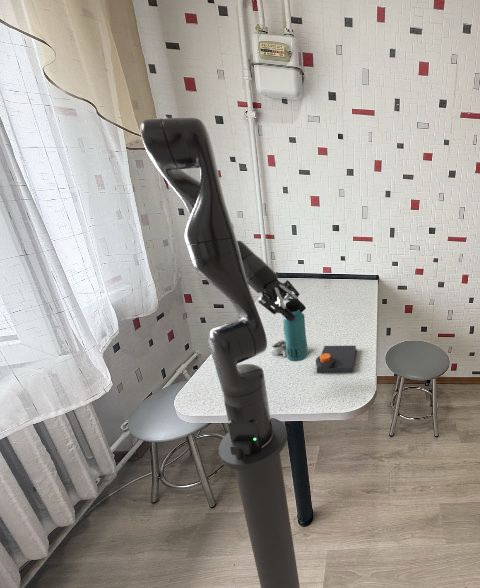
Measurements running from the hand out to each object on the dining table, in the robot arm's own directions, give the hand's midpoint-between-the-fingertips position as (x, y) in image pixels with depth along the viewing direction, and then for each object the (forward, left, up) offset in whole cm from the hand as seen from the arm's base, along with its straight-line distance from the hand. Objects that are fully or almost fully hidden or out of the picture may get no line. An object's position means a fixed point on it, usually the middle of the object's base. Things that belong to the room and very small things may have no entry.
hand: (298, 314), depth 98 cm
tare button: (+10, -5, -22) cm, 25 cm away
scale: (+14, -8, -26) cm, 31 cm away
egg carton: (+20, +11, -26) cm, 35 cm away
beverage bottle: (0, +2, -16) cm, 17 cm away
